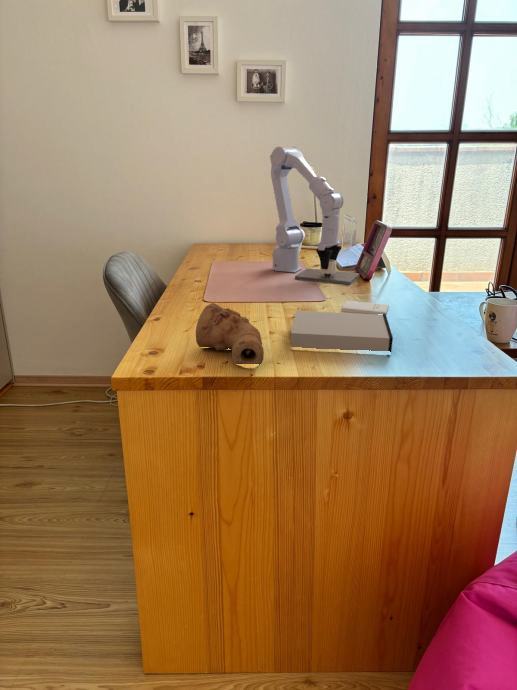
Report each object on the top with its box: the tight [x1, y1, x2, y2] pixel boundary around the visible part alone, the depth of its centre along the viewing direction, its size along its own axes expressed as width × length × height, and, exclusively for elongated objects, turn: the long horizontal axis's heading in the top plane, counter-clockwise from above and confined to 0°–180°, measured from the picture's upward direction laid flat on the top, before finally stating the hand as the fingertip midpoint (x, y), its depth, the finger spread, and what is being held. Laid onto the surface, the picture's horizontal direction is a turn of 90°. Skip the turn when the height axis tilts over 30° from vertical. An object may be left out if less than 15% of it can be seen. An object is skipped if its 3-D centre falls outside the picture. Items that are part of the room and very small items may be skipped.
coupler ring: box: [319, 259, 338, 274], centre depth 181 cm, size 6×6×4 cm
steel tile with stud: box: [294, 268, 360, 285], centre depth 182 cm, size 20×14×5 cm
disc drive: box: [290, 310, 393, 353], centre depth 121 cm, size 18×22×5 cm
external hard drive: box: [341, 300, 390, 315], centre depth 146 cm, size 2×8×12 cm
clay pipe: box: [195, 302, 265, 366], centre depth 111 cm, size 19×11×15 cm
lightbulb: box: [299, 228, 306, 253], centre depth 224 cm, size 6×6×11 cm
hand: (328, 267), depth 181 cm, fingers closed on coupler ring, 6 cm apart
